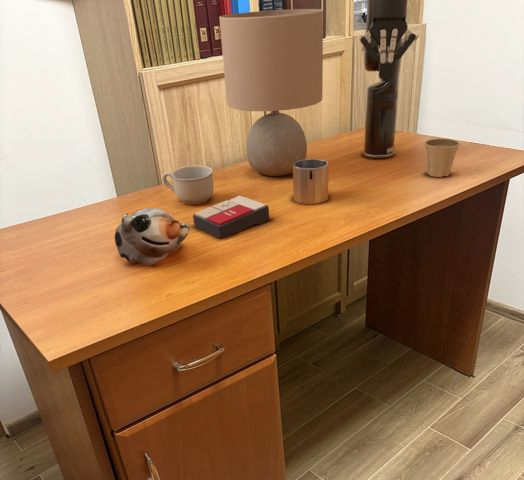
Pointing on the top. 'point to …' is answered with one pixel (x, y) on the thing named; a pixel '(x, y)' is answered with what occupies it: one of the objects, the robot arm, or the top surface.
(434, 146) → the flower pot
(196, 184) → the teacup
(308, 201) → the pot
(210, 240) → the top surface
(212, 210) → the flat box
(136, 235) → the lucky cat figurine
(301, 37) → the lamp
